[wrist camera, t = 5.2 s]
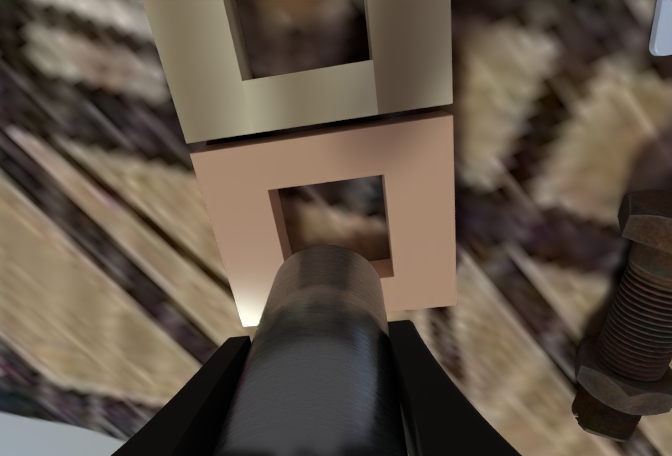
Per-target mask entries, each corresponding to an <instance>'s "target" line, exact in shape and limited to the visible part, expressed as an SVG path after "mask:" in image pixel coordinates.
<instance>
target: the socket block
mask: <svg viewBox="0 0 672 456" xmlns="http://www.w3.org/2000/svg"><path fill="white" fill-rule="evenodd" d="M190 156H191V159H192V162H193V166H194V169H195V172H196V175H197V179H198V182H199V185H200V188H201V192H202V195H203V198H204V201H205V205H206V208H207V211H208V214H209V217H210V221H211V224H212V227H213V230H214V234H215V237H216V240H217V243H218V247H219V250H220V253H221V256H222V259H223V263H224V266H225V269H226V272H227V276H228V279H229V282H230V285H231V289H232V292H233V295H234V298H235V302H236V305H237V308H238V311H239V314H240V318H241V321H242V324H243V327H245V326H255V325H258V324H259V321H260V318H261V315H262V312H263V310H264V307H265V304H266V301H267V298H268V296H269V293H270V290H271V287H272V284H273V281H274V279H275V276H276V274H277V271H278V270H279V268H280V267H281V265H282V264H283V263H284V262H285V261H286V260H287V259H288V258H289V257H290V256H292V252H291V248H290V243H289V239H288V234H287V230H286V225H285V221H284V216H283V212H282V207H281V203H280V198H279V194H278V189H279V188H286V187H293V186H301V185H308V184H316V183H323V182H330V181H338V180H345V179H353V178H360V177H367V176H375V175H382V182H383V192H384V202H385V212H386V222H387V231H388V241H389V251H390V259H383V260H374V261H368V262H369V263H370V264H371V265H372V266H373V267H374V269H375V270H376V272H377V274H378V275H379V278H380V281H381V285H382V290H383V297H384V303H385V310H386V312H392V311H402V310H412V309H422V308H431V307H441V306H451V305H457V295H456V244H455V194H454V143H453V115H451V114H449V113H446V112H444V111H436V112H429V113H422V114H416V115H409V116H402V117H395V118H389V119H382V120H375V121H369V122H362V123H355V124H348V125H342V126H335V127H328V128H321V129H315V130H308V131H301V132H294V133H288V134H281V135H274V136H268V137H261V138H254V139H247V140H241V141H234V142H227V143H220V144H214V145H207V146H204V147H202V148H200V149H198V150H197V151H195V152H193V153H191V154H190Z"/></svg>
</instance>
